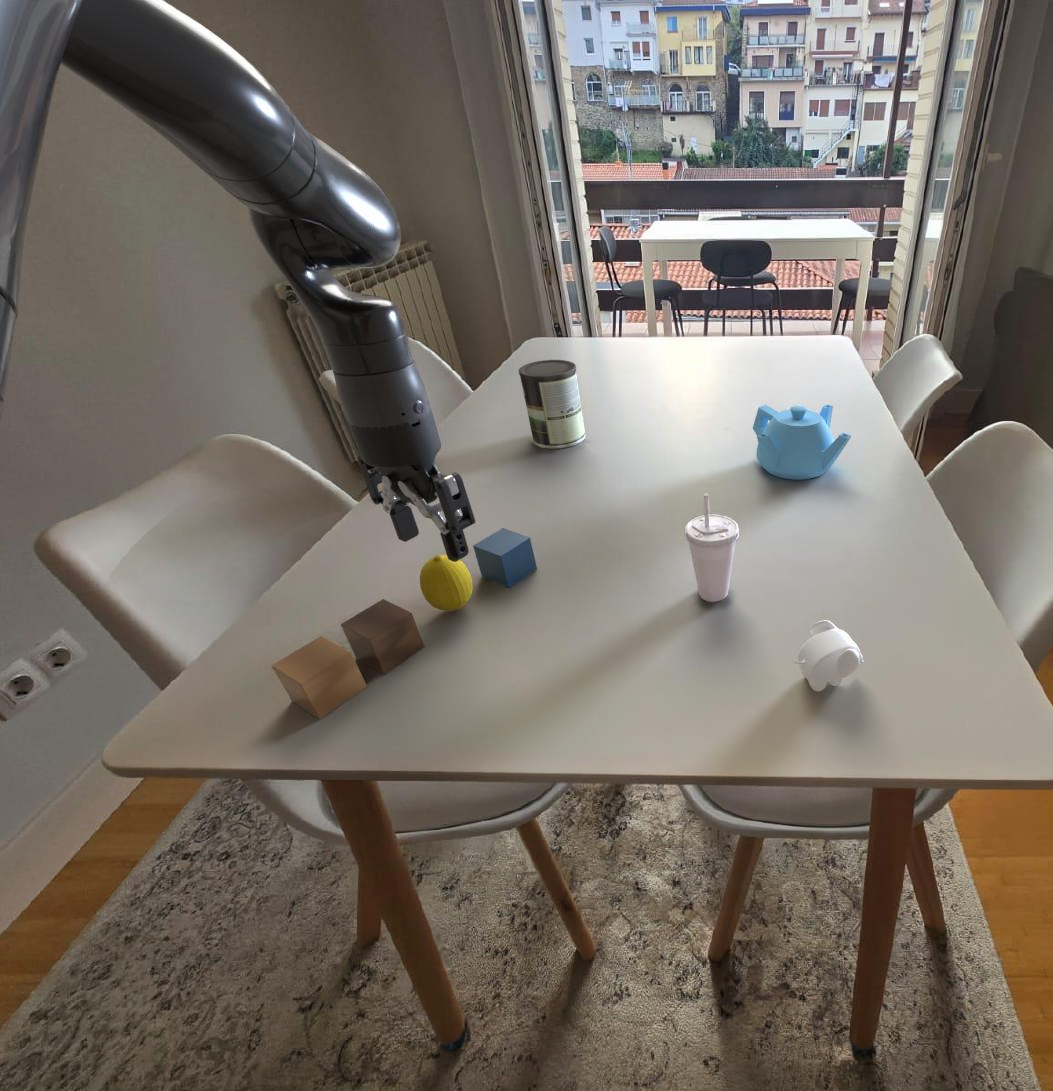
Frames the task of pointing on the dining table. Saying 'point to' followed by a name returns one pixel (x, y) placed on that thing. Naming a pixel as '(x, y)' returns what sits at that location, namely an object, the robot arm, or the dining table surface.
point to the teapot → (796, 442)
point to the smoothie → (712, 552)
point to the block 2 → (383, 636)
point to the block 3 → (505, 557)
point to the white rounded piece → (828, 655)
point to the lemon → (445, 583)
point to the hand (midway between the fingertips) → (434, 547)
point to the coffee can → (553, 403)
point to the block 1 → (320, 676)
